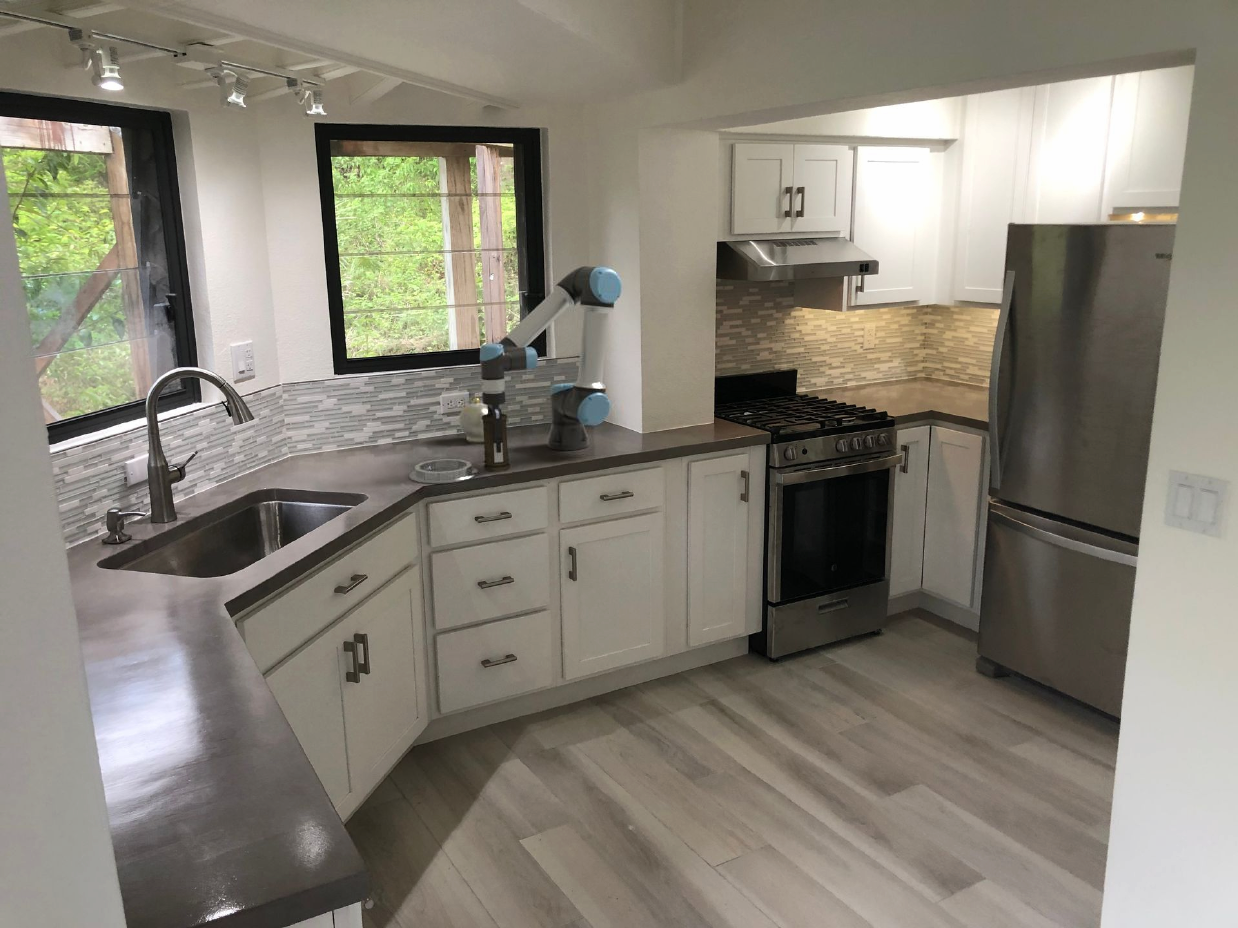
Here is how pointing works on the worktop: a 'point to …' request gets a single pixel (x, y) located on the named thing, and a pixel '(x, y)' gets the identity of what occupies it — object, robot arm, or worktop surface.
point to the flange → (443, 471)
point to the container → (489, 446)
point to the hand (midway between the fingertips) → (496, 458)
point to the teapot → (473, 421)
